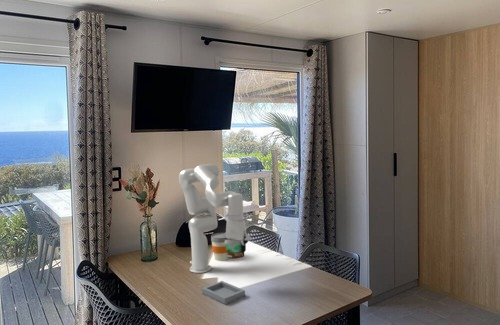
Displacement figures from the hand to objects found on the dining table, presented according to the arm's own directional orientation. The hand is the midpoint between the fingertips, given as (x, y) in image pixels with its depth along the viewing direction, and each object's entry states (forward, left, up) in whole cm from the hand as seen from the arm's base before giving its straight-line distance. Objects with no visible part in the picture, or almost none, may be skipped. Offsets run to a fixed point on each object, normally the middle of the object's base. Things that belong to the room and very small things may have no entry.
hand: (236, 250), depth 211 cm
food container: (+1, 0, -3) cm, 3 cm away
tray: (+2, -11, -20) cm, 23 cm away
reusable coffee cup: (-42, +23, -20) cm, 52 cm away
